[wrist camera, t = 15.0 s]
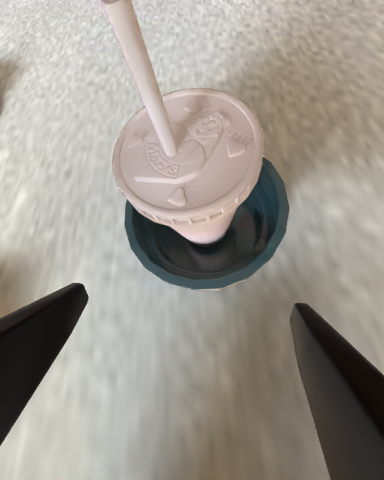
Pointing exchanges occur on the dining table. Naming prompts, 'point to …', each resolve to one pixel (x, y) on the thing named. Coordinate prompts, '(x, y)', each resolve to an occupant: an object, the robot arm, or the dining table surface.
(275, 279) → the dining table surface
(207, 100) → the smoothie
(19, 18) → the dining table surface
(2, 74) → the dining table surface
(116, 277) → the dining table surface
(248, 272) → the bowl
